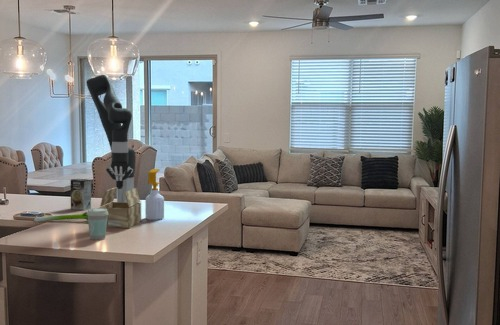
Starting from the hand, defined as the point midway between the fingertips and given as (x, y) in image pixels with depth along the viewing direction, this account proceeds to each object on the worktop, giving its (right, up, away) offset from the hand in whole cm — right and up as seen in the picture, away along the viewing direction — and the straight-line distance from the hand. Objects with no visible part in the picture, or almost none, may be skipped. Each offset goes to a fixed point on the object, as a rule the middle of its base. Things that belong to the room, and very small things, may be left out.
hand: (119, 188), depth 235 cm
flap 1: (-6, -7, +1) cm, 10 cm away
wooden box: (0, -17, +2) cm, 17 cm away
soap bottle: (+13, -16, +17) cm, 26 cm away
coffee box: (-31, -13, +39) cm, 51 cm away
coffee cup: (-2, -19, -27) cm, 33 cm away
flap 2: (+7, -8, 0) cm, 10 cm away
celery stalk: (-27, -17, +5) cm, 32 cm away
